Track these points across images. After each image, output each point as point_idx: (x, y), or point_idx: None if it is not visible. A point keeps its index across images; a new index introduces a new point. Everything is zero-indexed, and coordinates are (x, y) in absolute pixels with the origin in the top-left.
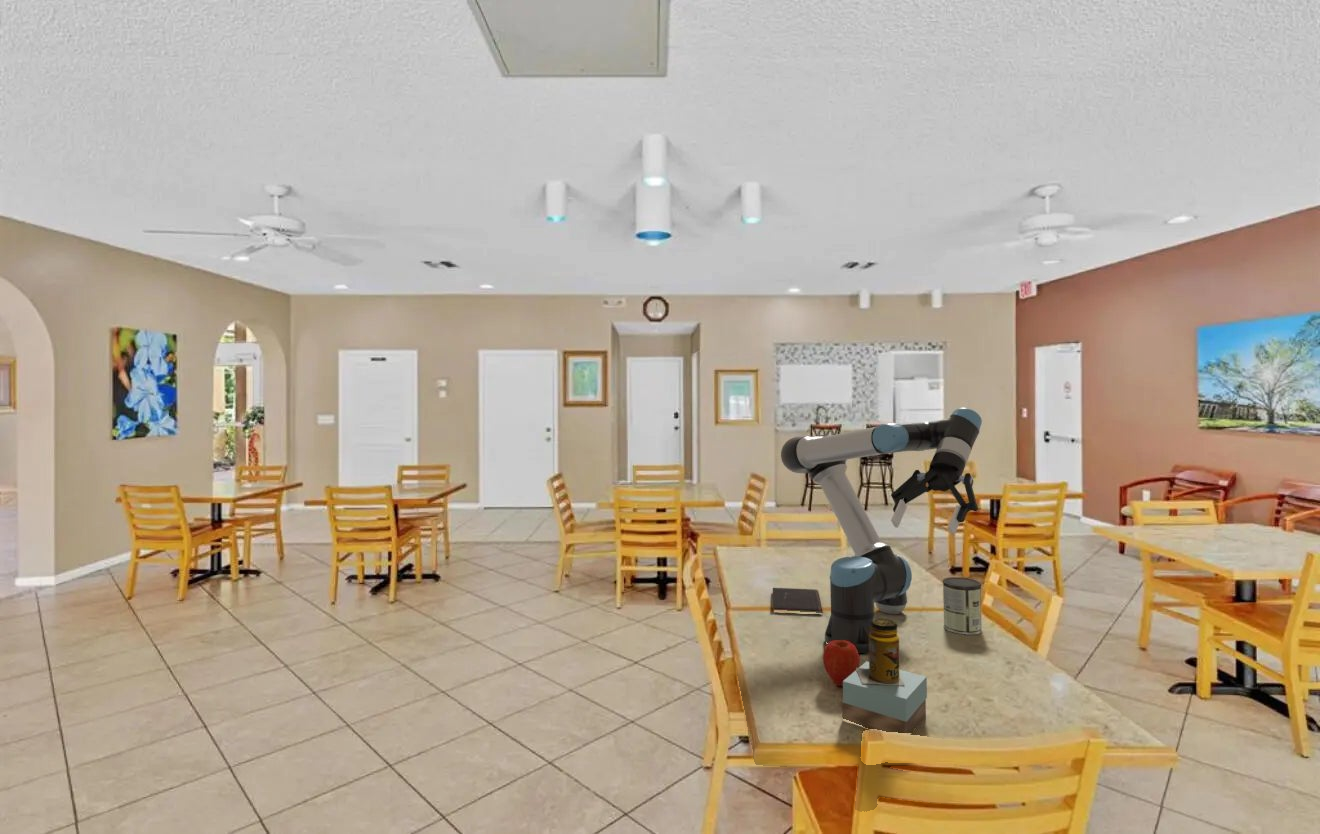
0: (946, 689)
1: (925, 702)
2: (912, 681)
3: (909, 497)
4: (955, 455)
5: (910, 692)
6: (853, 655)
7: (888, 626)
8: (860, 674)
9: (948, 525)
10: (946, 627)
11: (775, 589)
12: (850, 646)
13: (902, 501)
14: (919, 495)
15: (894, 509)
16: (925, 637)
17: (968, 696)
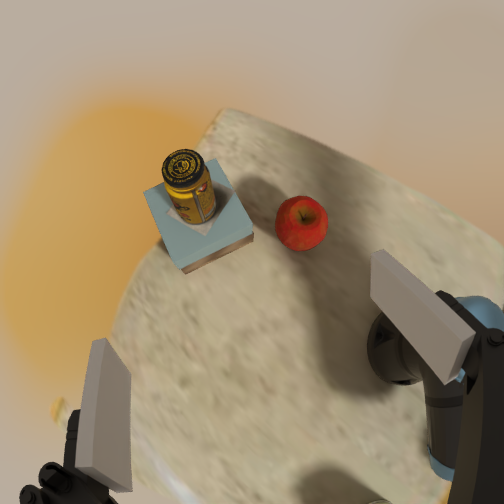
0: (229, 359)
1: (182, 270)
2: (171, 233)
3: (472, 405)
4: None
5: (151, 208)
6: (279, 221)
7: (165, 161)
8: (218, 185)
9: (103, 348)
10: (382, 501)
11: None
12: (291, 221)
13: (453, 334)
14: (453, 477)
15: (442, 297)
16: (377, 459)
17: (201, 368)
